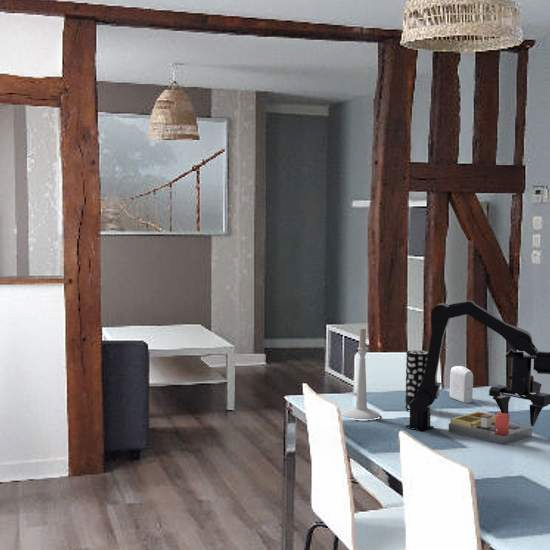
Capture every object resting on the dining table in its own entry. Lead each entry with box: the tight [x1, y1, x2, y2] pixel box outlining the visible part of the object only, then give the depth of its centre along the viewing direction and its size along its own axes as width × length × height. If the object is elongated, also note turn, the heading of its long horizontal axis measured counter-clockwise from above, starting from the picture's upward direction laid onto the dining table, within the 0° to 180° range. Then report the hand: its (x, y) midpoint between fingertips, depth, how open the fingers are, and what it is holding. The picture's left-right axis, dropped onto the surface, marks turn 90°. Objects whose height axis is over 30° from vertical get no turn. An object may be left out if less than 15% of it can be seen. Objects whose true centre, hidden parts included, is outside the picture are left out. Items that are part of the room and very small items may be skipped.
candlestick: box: [341, 327, 382, 419], centre depth 277 cm, size 13×13×30 cm
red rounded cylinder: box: [495, 413, 510, 435], centre depth 247 cm, size 4×4×6 cm
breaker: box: [481, 413, 493, 428], centre depth 254 cm, size 2×2×3 cm
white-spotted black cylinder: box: [404, 350, 431, 410], centre depth 287 cm, size 8×8×20 cm
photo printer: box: [449, 365, 474, 404], centre depth 304 cm, size 10×4×12 cm, turn 22°
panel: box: [448, 411, 533, 445], centre depth 257 cm, size 16×20×4 cm
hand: (519, 423), depth 254 cm, fingers open, 9 cm apart
